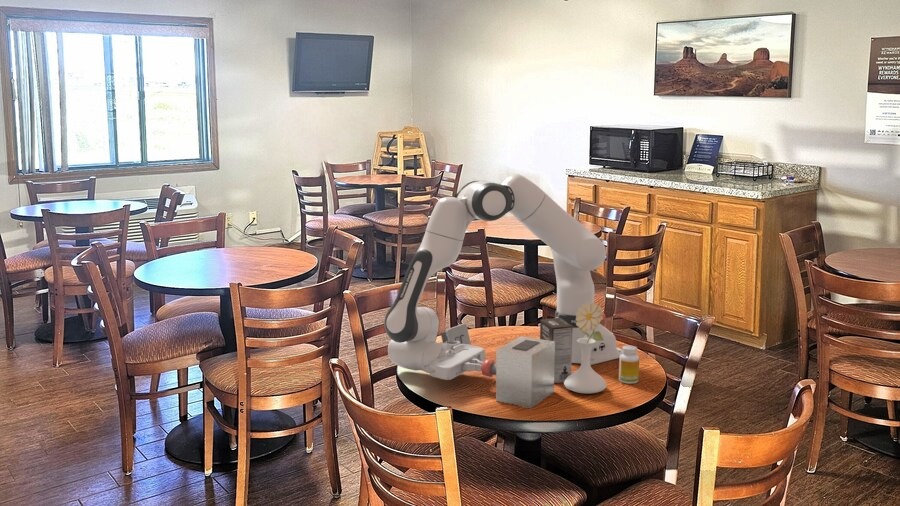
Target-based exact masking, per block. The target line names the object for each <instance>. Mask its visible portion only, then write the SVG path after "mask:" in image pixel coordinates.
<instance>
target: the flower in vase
mask: <svg viewBox="0 0 900 506" xmlns="http://www.w3.org/2000/svg"><path fill="white" fill-rule="evenodd" d="M576 314H577V315H576V317H577V318H576V321H577V322H576V325H577V326H579V329H580V331H581V332H582V333H584V334H585V335H587V336H589V334H588V333H587V332H586V331H588V330H589V329H591V330H593V332H592V334H591V336H589V338H580V339H578V340H577V342H578V343H579V345H580V348H581V353H582V362H581V364H580V366H579V368H577V369H576V370H575V371H573V372H571V375H569V376H568V377H567V378H566V379H565V381H564V382H563V385H564V387H565V388H566V389H568V390H570V391H572V392H574V393H578V394H587V395H588V394H589V395H591V394H596V393H599V392H602V391H604V390H605V389H606V388H607V385H608V384H607V382H606V380H605V379H604V377H602V376H601V375H600V374H599V373H597V372H596V371H595V370H594V369H593V368H592V365H590V355H591V350H592V347H593V345H594V344H595V342H596V341H601V340H603V338H602V335H601V333H600V331H596V332H594V331H595V328H596V327H597V324H601V321H603V320H602V319H603V317H602V315H603V308H601V306H600V305H598V304H597V303H595V301H594V302H593V303H591V304H590V303H587V304H586V305H585V304H583V305H582V308H579V312H577V313H576ZM592 335H593V337H594V339H590V338H591V337H592Z"/></svg>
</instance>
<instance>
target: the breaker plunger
mask: <svg viewBox="0 0 900 506" xmlns="http://www.w3.org/2000/svg"><path fill="white" fill-rule="evenodd" d="M481 374H482V376H486V377H490V378H491V377H493V376H496V361H495V360H493V359H487V358H485V360H484V361H483V364H482V371H481Z"/></svg>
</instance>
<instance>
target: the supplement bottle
mask: <svg viewBox="0 0 900 506" xmlns="http://www.w3.org/2000/svg"><path fill="white" fill-rule="evenodd" d="M621 350H622V352H623V353H622V354H621V355H620V358H618V359H619V360H618V361H619V363H618V365H619V366H618V368H619V369H618V381H619V382H621V383H623V384H626V385H627V384H628V385H631V384H632V385H633V384H637V383H638V382H639V377H640V375H639V374H640V356H639V355H638V354H637V353H638V347H637V346H636V345H635V346H634V345H630V344H628V345H623V346H622V348H621Z"/></svg>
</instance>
